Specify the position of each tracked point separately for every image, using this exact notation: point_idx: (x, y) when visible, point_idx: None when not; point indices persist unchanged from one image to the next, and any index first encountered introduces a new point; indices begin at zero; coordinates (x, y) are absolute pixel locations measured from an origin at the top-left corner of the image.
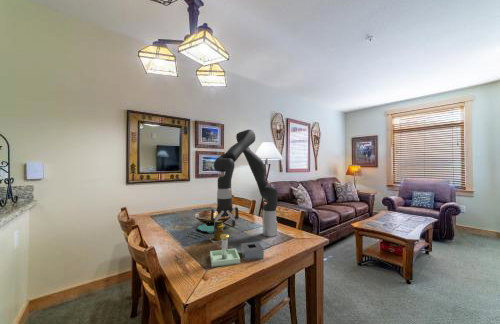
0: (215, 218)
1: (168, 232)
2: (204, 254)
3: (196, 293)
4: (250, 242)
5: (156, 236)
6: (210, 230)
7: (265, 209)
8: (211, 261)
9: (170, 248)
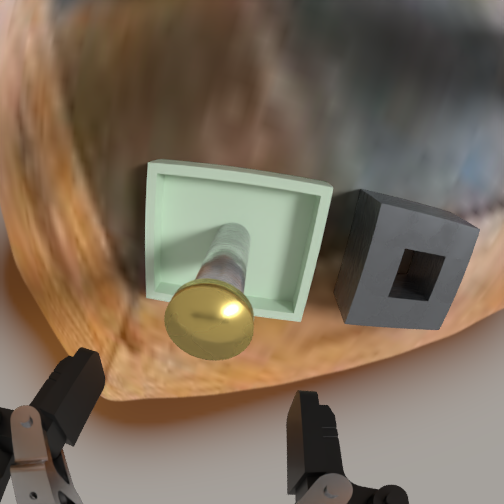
0: (23, 442)
1: None
2: (131, 128)
3: (115, 386)
4: (442, 219)
5: None
6: None
7: None
8: (147, 280)
9: (13, 33)
